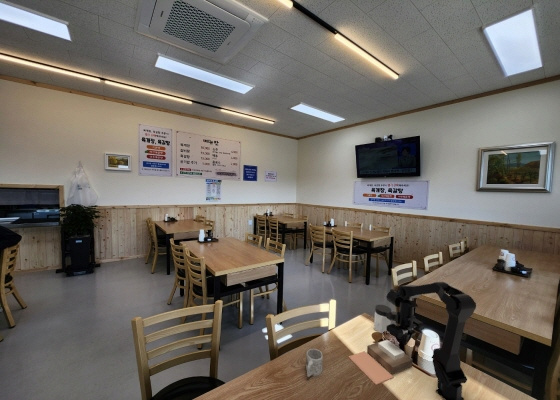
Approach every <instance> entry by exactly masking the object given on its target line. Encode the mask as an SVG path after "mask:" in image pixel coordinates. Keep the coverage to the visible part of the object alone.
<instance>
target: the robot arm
mask: <svg viewBox="0 0 560 400" xmlns="http://www.w3.org/2000/svg"><path fill="white" fill-rule="evenodd" d="M430 294H437V296H438V299H439V300H440V301H441V302H442V303H443V304H445V310H446V312H447V314H448V316H447V317H448V318H447V323H446V327H445V330H444V336H443V339H442V343H441V347H439V348H434V349H433V353H432V356H431V359H432V365H433V370H434V374H435V377H436V378H437V385H436V386H437V387H436V388H437V389H435V392H436V394H438V395H439V396H440V397H441V398H443V399H444V400H445V399H446V400H465V399H464V397H463V394H462V393H463V384H466V383H467V381H468V378H467V376H466V375H465V373H464V370H463V368H462V366H461V359H460V357H459V355H458V354H459V350H460V346H461V341H462V337H463V334H464V330H465V325H466V322H467V320H468V319H469V318H471V317H472V316H473V314H474V313H475V310H476V308H477V303H476V301H475V300H474V298H473V297H472V296H470V295H469V294H466V293H465V292H463V291H462V290H460V289H459V288H456V287H453V286H451V285H450V284H449V283H447V282H445V281H436V282H433V283H427V284H420V285H416V284H415V285H414V284H408V285H399V286H398V288H397V290H396V289H395V288H390V290H389V291H388V292H387V294H386V300H387V302H389V303H390V304H392V305H394V306H395V307H397V308H399V311H391V312H387V313H386V317H387V319H389V320H391V321H394V322H395V323H396V324H397V325H396V324H395V323H391V324H390V325H388V326H387V327H386V331H388V332H389V333H390V334H389V335H392V336H393V337H394V338H396V339H397V338H398V339H399V338H401V339H400V340H401V342H402V344H403V345H404V346H407V345H408V343H409V342H410V341H411V339H412V337H414V336H415V334H416V333H417V331H416V330H414V328H417V327H418V330H419V331H422V330H425V324H424V322H423V321H421V320H419V319H417V318H416V315H414V308H418V307H419V306H418V303H416V301H415V300H411V299H416V298H419V297H420V296H423V295H430Z"/></svg>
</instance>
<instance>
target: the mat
mask: <svg viewBox="0 0 560 400" xmlns="http://www.w3.org/2000/svg"><path fill="white" fill-rule="evenodd" d="M348 359H349V360H350V361H352V363H354V365H355V366H356V367H357V368H358V369H360V371H362V373H363V374H364V375H365V376H366V377H367V378H368V379H369V380H370V381H371V382H373V384H374V385H376V386H378V385H380V384H382V383H384V382H387V381H389V380H392V379H394V375H391V374H390V373H389V372H388V371H387V370H386V369H385V368H383V367H382V366H381V365H380V364H379V363H378V362H377V361H376V360H374V359H373V358H372V357H371V356H370V355H369V354H368V353H367V351H366V350H365V351H361V352H357V353H354V354H352V355H349V356H348Z"/></svg>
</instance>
